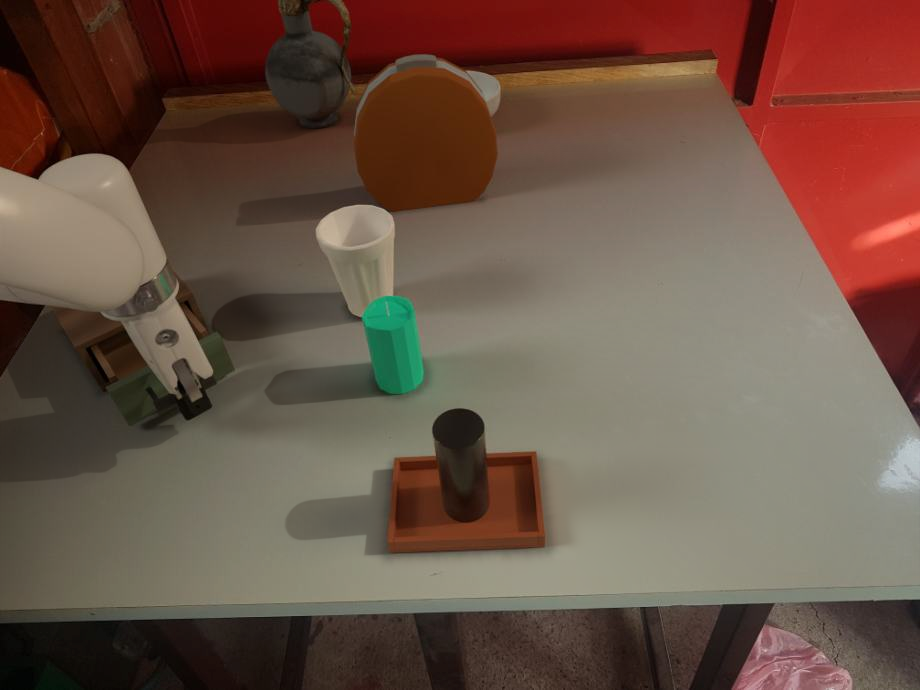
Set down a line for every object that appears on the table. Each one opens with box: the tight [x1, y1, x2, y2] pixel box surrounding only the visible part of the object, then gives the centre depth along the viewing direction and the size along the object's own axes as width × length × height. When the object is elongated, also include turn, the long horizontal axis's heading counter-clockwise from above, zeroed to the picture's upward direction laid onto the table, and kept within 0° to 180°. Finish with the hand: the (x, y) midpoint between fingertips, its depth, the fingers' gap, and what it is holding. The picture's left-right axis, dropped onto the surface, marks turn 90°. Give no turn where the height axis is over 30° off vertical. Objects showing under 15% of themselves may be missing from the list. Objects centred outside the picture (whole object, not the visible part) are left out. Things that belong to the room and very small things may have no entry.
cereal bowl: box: [466, 70, 502, 118], centre depth 132 cm, size 17×17×7 cm
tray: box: [386, 450, 546, 554], centre depth 71 cm, size 15×10×2 cm
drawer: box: [90, 303, 236, 427], centre depth 85 cm, size 19×14×6 cm
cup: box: [315, 204, 396, 318], centre depth 91 cm, size 10×10×13 cm
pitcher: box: [264, 0, 358, 129], centre depth 128 cm, size 11×19×30 cm, turn 66°
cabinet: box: [50, 270, 211, 392], centre depth 92 cm, size 16×15×8 cm
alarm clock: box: [353, 53, 499, 212], centre depth 109 cm, size 22×10×23 cm, turn 97°
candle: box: [361, 295, 425, 395], centre depth 81 cm, size 6×6×12 cm
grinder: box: [431, 407, 490, 523], centre depth 67 cm, size 5×5×12 cm
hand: (196, 410), depth 79 cm, fingers closed
